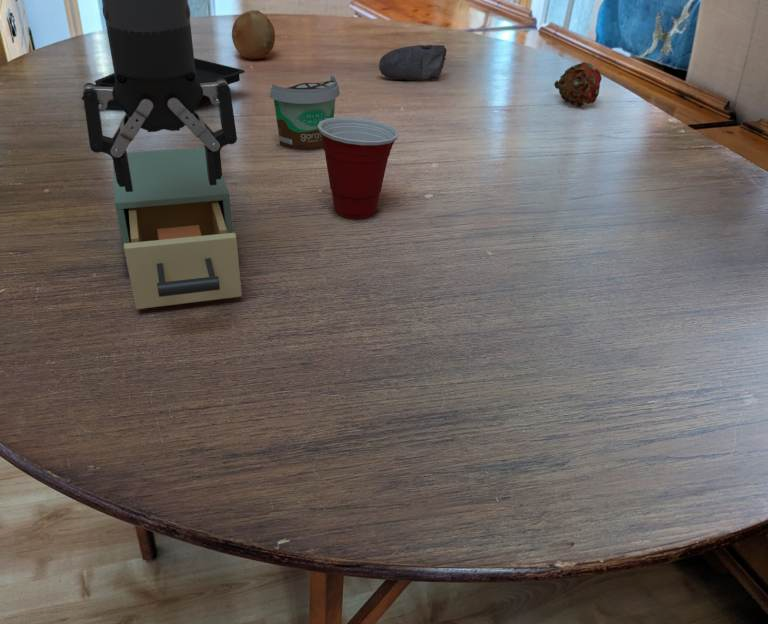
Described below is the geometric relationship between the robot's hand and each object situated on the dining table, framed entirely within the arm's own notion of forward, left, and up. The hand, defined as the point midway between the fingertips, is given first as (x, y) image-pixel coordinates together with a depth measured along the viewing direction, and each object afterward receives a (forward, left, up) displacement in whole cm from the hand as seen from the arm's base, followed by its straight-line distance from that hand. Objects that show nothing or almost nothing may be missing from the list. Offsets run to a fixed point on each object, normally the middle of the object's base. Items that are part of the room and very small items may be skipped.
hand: (171, 185), depth 76 cm
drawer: (0, -1, -11) cm, 11 cm away
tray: (+37, +65, -13) cm, 76 cm away
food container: (+42, +27, -13) cm, 51 cm away
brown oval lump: (+68, +79, -13) cm, 105 cm away
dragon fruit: (+100, +13, -13) cm, 101 cm away
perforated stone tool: (+85, +45, -13) cm, 97 cm away
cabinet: (+6, +11, -12) cm, 18 cm away
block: (0, 0, -10) cm, 10 cm away
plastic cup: (+30, +3, -13) cm, 32 cm away
